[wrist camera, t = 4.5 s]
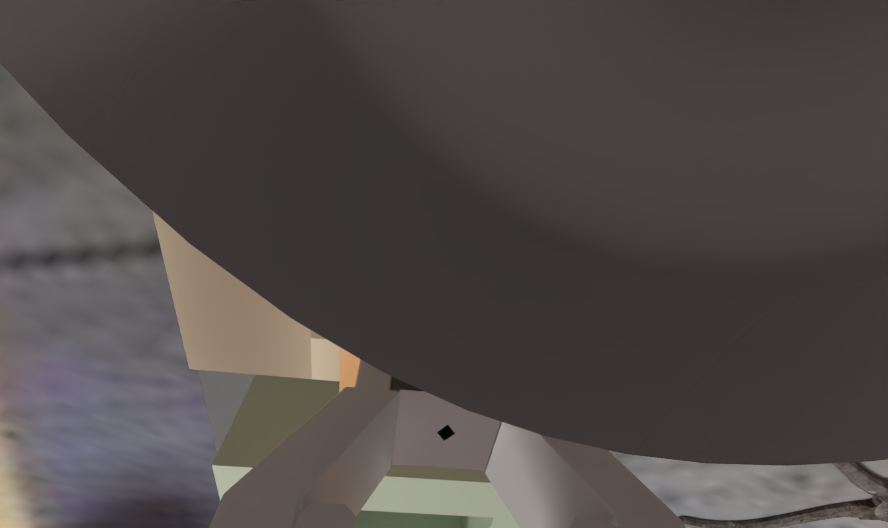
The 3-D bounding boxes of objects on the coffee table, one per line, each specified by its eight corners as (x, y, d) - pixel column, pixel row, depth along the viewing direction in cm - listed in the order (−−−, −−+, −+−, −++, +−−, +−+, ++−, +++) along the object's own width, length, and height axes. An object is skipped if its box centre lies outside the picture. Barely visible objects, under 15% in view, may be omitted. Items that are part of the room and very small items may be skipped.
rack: (552, 357, 19) (596, 489, 14) (504, 486, 24) (523, 617, 19) (275, 332, 18) (212, 465, 13) (287, 473, 23) (245, 607, 18)
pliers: (719, 445, 23) (1079, 434, 23) (710, 431, 24) (1060, 421, 24) (674, 536, 28) (970, 526, 29) (667, 522, 29) (957, 513, 29)
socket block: (771, -225, 10) (1159, -488, 4) (580, 284, 17) (644, 407, 12) (218, -355, 8) (-109, -901, 3) (268, 249, 16) (189, 368, 11)
